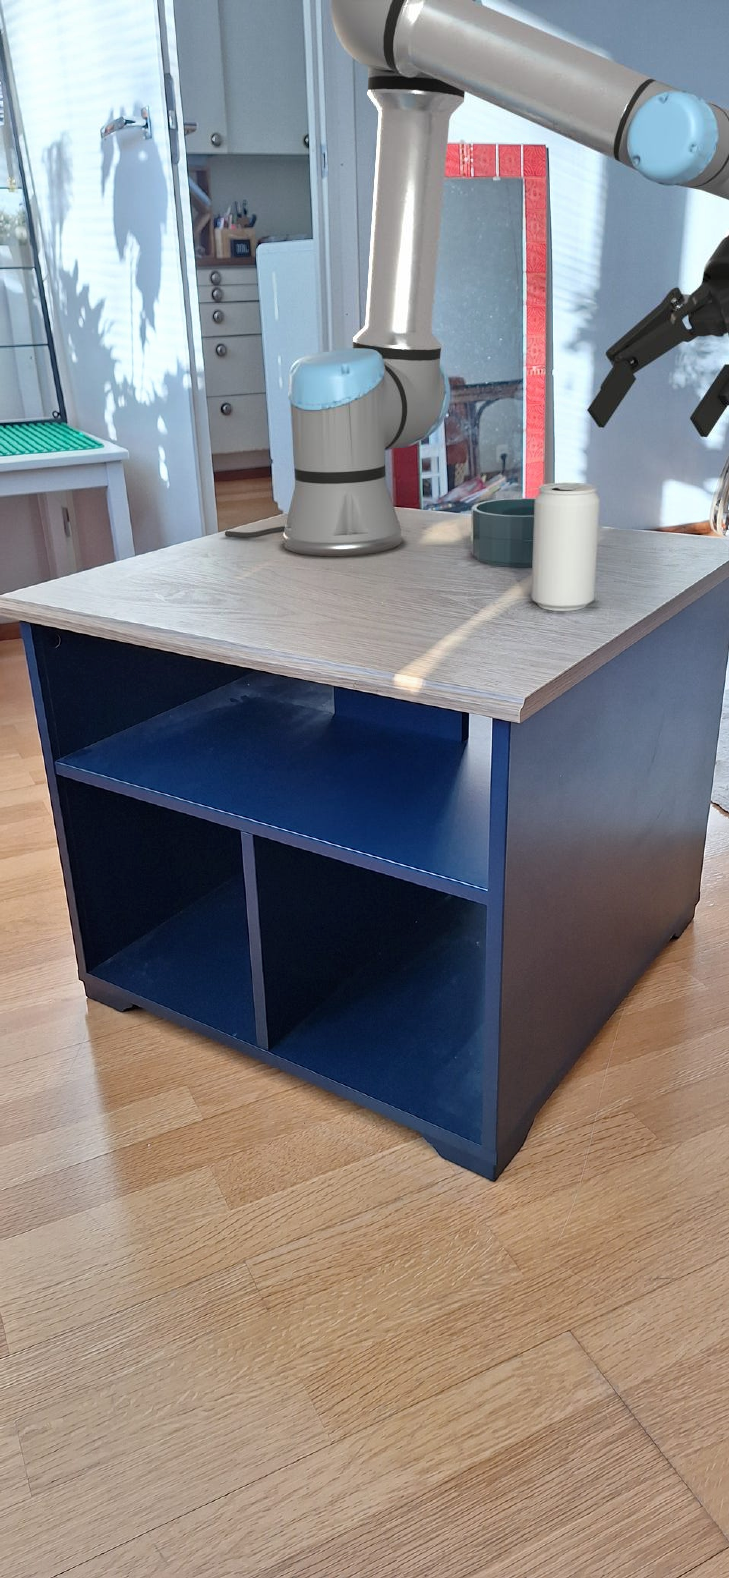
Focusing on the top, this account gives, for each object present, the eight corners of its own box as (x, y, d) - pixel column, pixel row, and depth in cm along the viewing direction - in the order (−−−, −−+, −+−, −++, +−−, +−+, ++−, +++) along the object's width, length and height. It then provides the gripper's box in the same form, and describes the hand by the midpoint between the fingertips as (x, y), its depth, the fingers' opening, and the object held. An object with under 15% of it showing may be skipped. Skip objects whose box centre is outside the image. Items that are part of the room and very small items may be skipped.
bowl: (453, 561, 134) (453, 511, 132) (501, 542, 143) (502, 495, 141) (544, 572, 128) (546, 519, 125) (589, 552, 137) (591, 502, 134)
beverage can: (519, 607, 115) (522, 487, 110) (552, 593, 119) (557, 478, 114) (572, 616, 111) (578, 493, 106) (605, 602, 115) (612, 483, 110)
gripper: (876, 281, 108) (762, 458, 106) (674, 288, 127) (574, 438, 125) (852, 220, 103) (731, 404, 101) (645, 236, 122) (540, 392, 120)
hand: (644, 423), depth 113 cm, fingers open, 13 cm apart
